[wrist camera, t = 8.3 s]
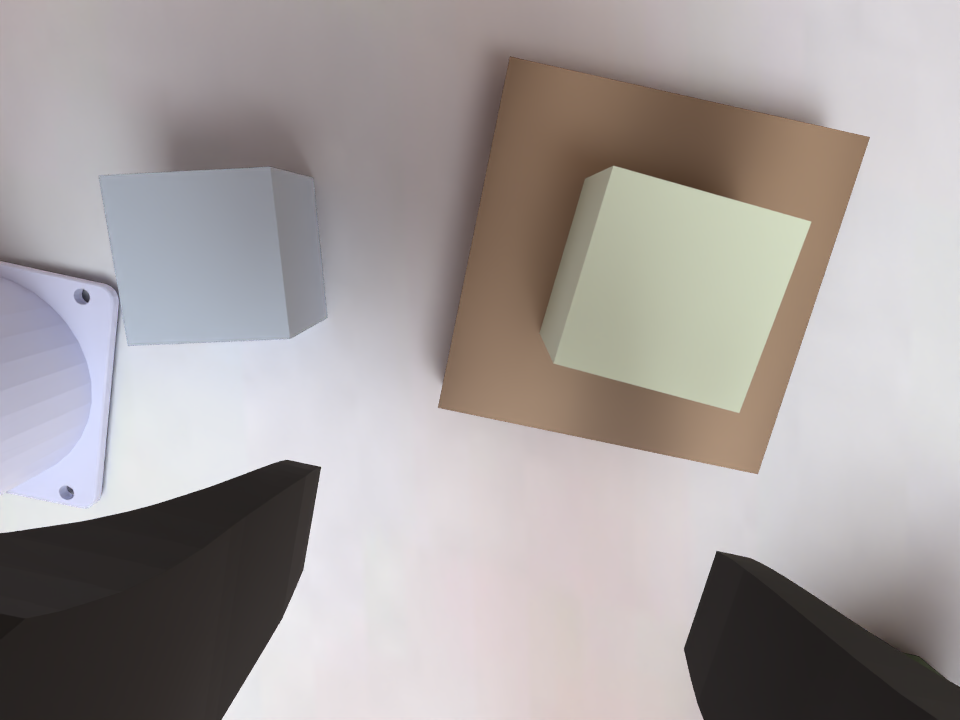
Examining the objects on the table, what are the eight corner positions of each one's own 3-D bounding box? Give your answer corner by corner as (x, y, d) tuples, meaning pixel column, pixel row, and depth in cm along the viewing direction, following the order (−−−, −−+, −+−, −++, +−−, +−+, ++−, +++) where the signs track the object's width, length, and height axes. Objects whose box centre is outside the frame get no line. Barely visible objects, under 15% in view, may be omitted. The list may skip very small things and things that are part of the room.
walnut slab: (445, 382, 22) (437, 407, 19) (507, 81, 19) (509, 56, 16) (722, 440, 22) (757, 474, 19) (813, 150, 20) (870, 136, 17)
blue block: (196, 323, 21) (127, 345, 17) (176, 185, 20) (98, 175, 16) (328, 317, 21) (290, 339, 17) (314, 177, 20) (270, 166, 16)
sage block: (539, 333, 18) (553, 363, 14) (584, 178, 17) (613, 165, 13) (685, 372, 18) (739, 413, 14) (738, 221, 17) (811, 221, 13)
